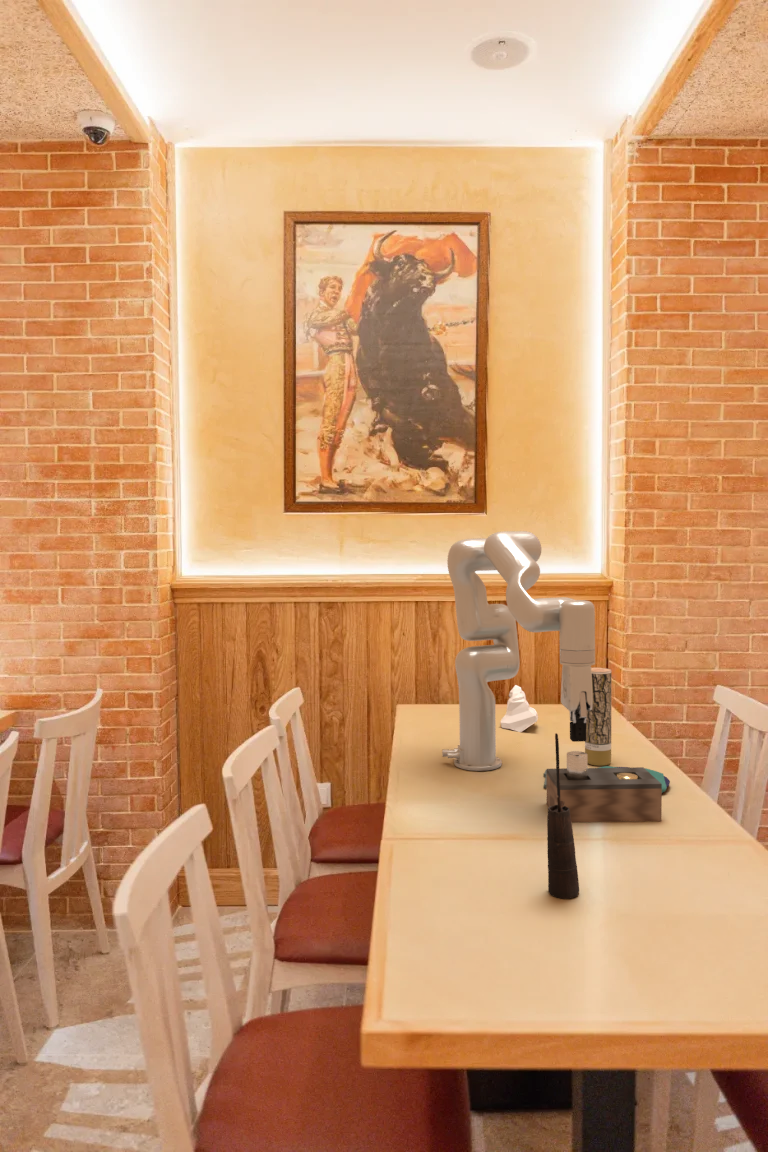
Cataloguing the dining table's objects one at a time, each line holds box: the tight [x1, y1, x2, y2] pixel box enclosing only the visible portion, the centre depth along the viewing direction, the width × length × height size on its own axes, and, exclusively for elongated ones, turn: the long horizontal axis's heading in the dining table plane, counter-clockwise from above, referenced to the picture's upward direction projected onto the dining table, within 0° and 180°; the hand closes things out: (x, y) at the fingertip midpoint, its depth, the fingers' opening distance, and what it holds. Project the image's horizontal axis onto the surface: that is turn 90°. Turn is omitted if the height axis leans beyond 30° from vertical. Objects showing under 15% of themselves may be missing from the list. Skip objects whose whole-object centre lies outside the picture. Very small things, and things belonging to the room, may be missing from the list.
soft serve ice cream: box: [500, 684, 539, 733], centre depth 254 cm, size 12×15×14 cm
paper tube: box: [584, 667, 612, 767], centre depth 213 cm, size 7×7×25 cm
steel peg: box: [566, 750, 588, 780], centre depth 177 cm, size 4×4×7 cm
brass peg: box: [617, 773, 638, 779], centre depth 177 cm, size 4×4×7 cm
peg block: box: [546, 766, 663, 823], centre depth 177 cm, size 22×12×8 cm, turn 90°
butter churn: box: [546, 732, 580, 900], centre depth 138 cm, size 9×10×28 cm
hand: (578, 740), depth 176 cm, fingers closed
